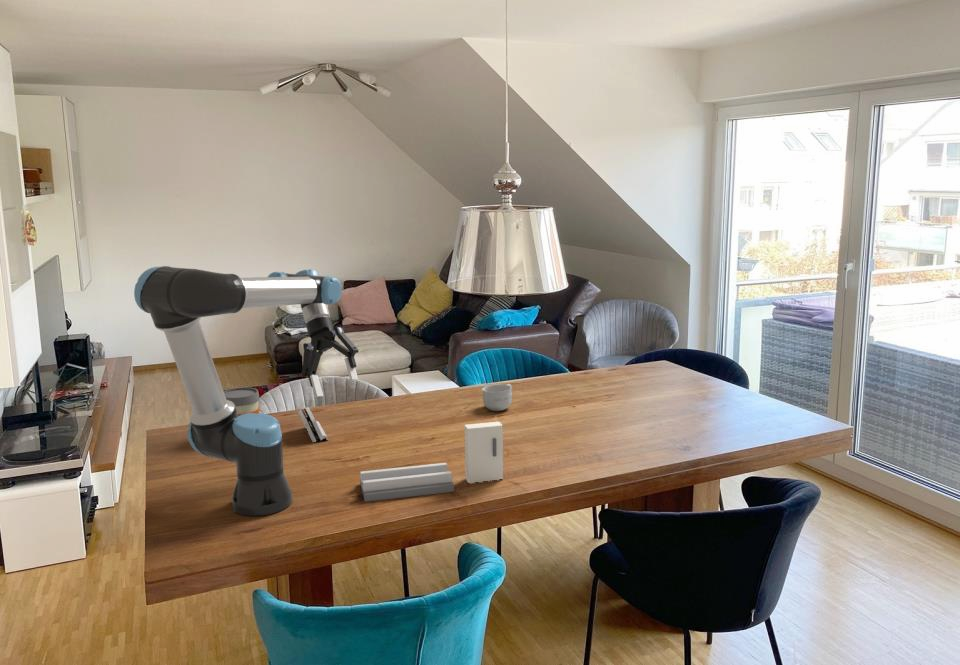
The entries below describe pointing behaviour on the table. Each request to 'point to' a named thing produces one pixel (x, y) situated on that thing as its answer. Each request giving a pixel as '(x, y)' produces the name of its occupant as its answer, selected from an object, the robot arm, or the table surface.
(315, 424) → the white and black console
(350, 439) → the table surface
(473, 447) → the door panel
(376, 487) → the track
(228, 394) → the reusable coffee cup
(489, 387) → the teacup
